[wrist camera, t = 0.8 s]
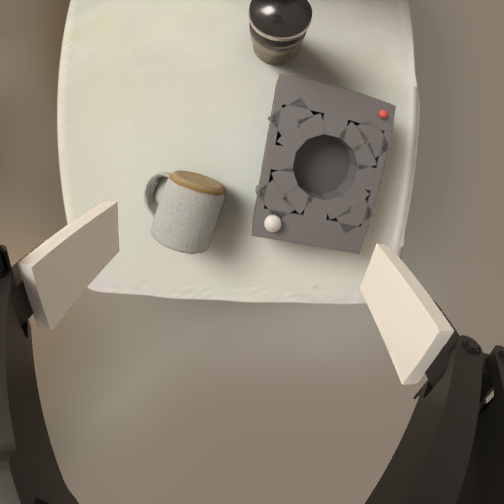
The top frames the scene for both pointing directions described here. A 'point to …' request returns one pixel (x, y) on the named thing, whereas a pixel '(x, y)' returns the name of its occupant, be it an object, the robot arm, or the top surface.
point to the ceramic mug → (185, 210)
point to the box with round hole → (321, 164)
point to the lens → (278, 28)
